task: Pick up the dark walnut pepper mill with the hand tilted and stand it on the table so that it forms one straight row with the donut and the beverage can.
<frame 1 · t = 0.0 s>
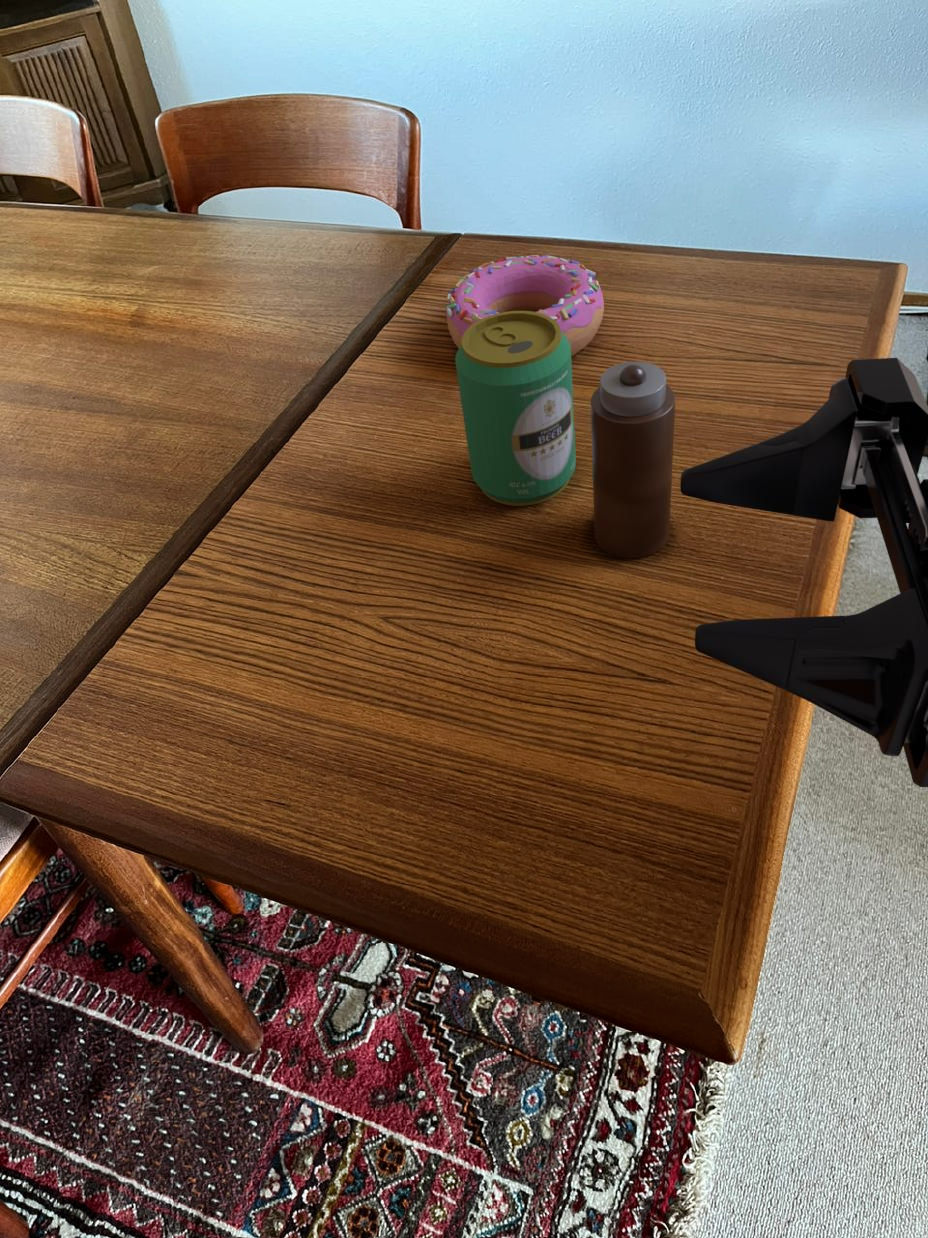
hand: (687, 553, 38), 18 cm above the table, tool horizontal, fingers open, 9 cm apart
donut: (526, 337, 87), on the table
pepper mill: (631, 533, 66), on the table
beverage can: (524, 478, 72), on the table
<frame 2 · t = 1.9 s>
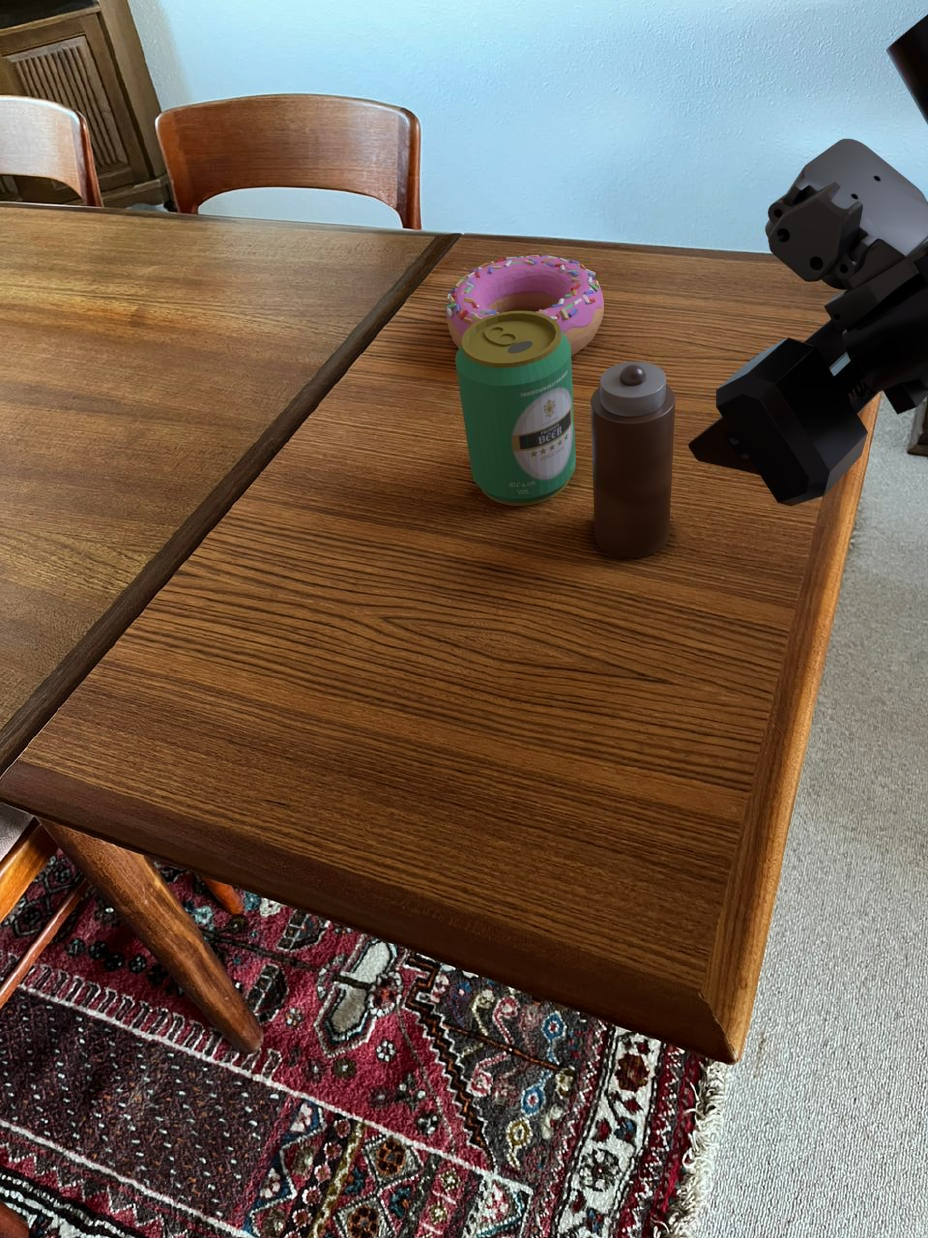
hand: (741, 408, 51), 14 cm above the table, tool tilted 50°, fingers open, 9 cm apart
nothing on the table moved.
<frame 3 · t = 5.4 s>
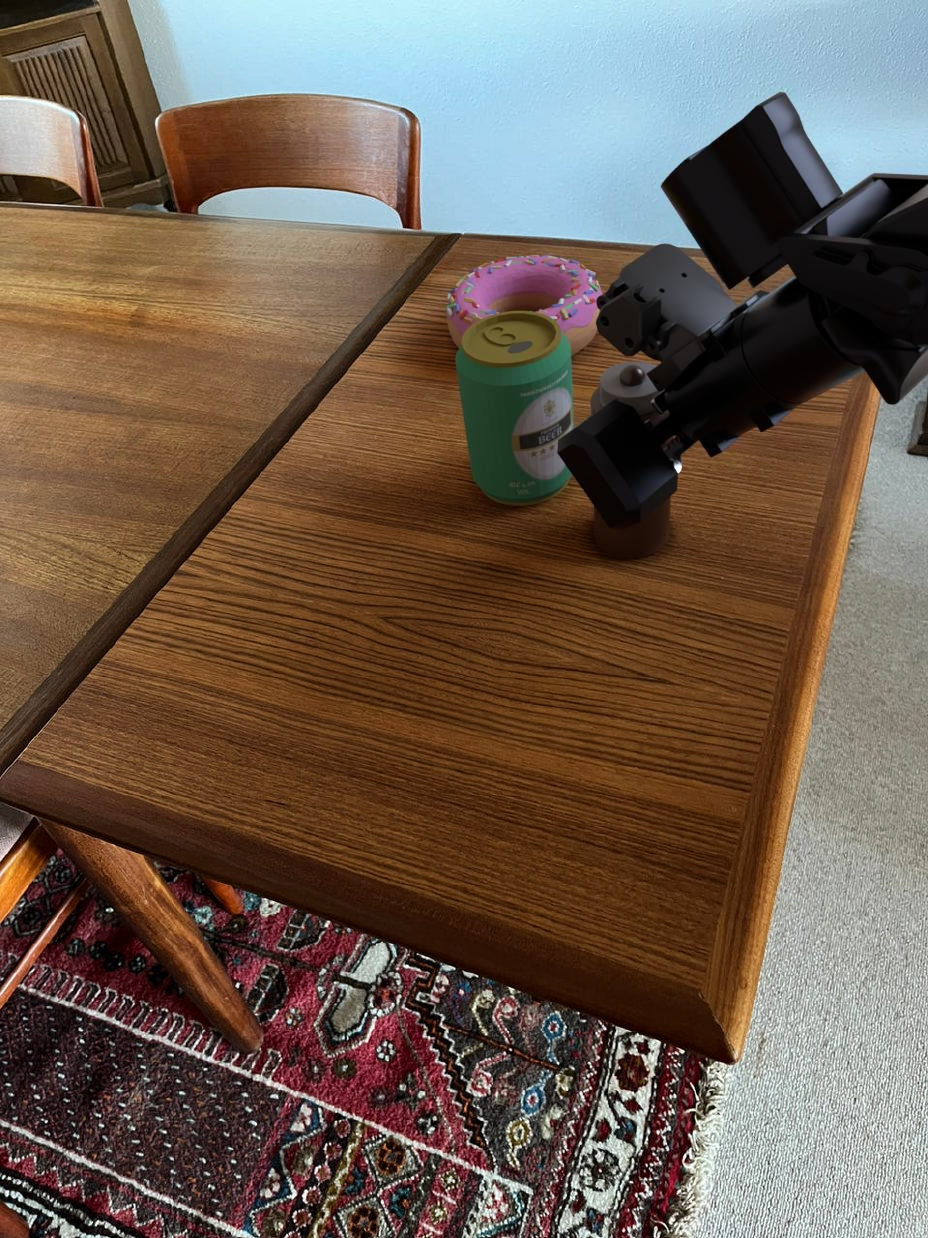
hand: (615, 451, 62), 7 cm above the table, tool tilted 45°, fingers closed on pepper mill, 5 cm apart
pepper mill: (631, 533, 66), on the table, touching gripper
everything else where it was.
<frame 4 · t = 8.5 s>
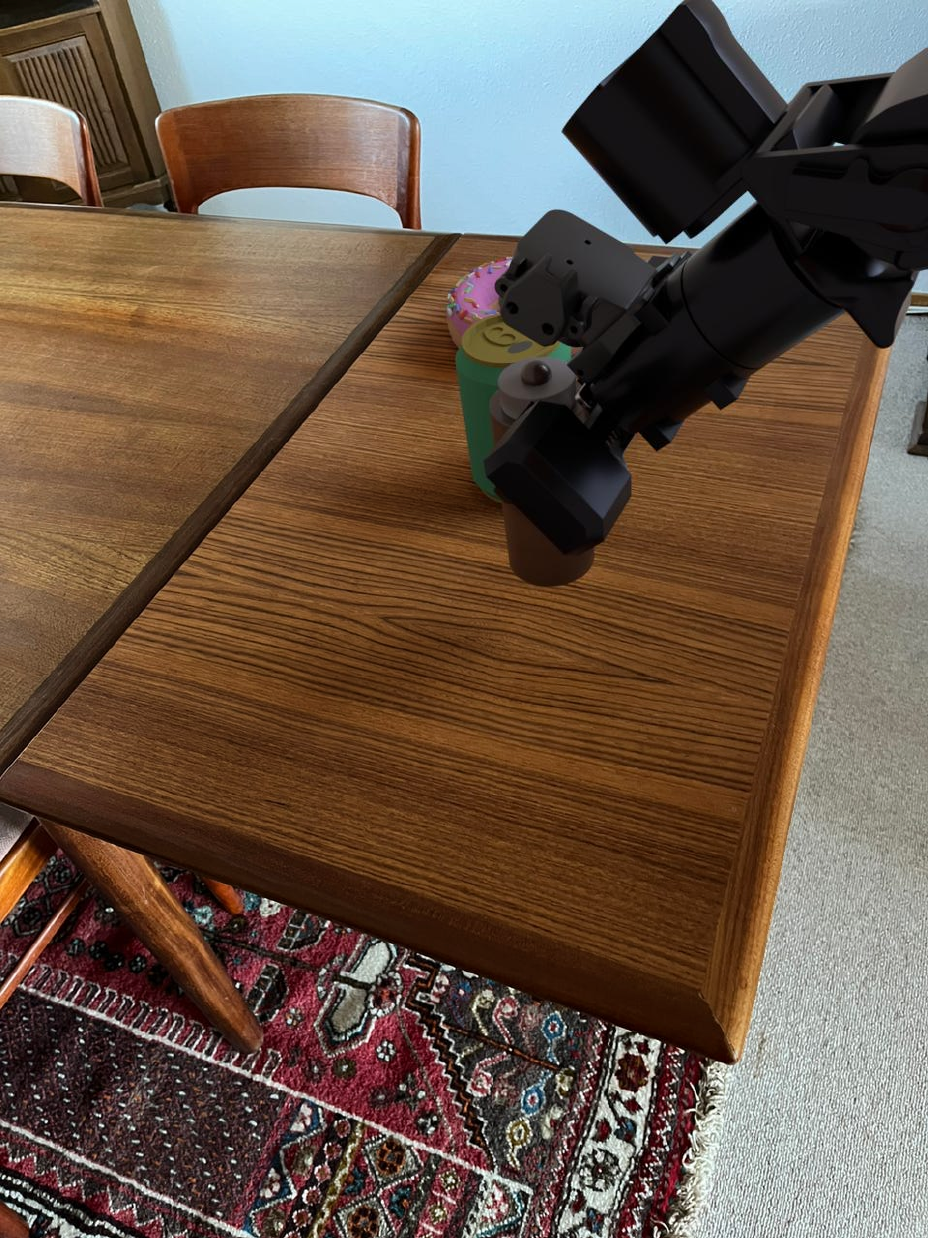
hand: (522, 466, 53), 12 cm above the table, tool tilted 45°, fingers closed on pepper mill, 5 cm apart
pepper mill: (551, 557, 57), point 6 cm above the table, touching gripper
everything else where it was.
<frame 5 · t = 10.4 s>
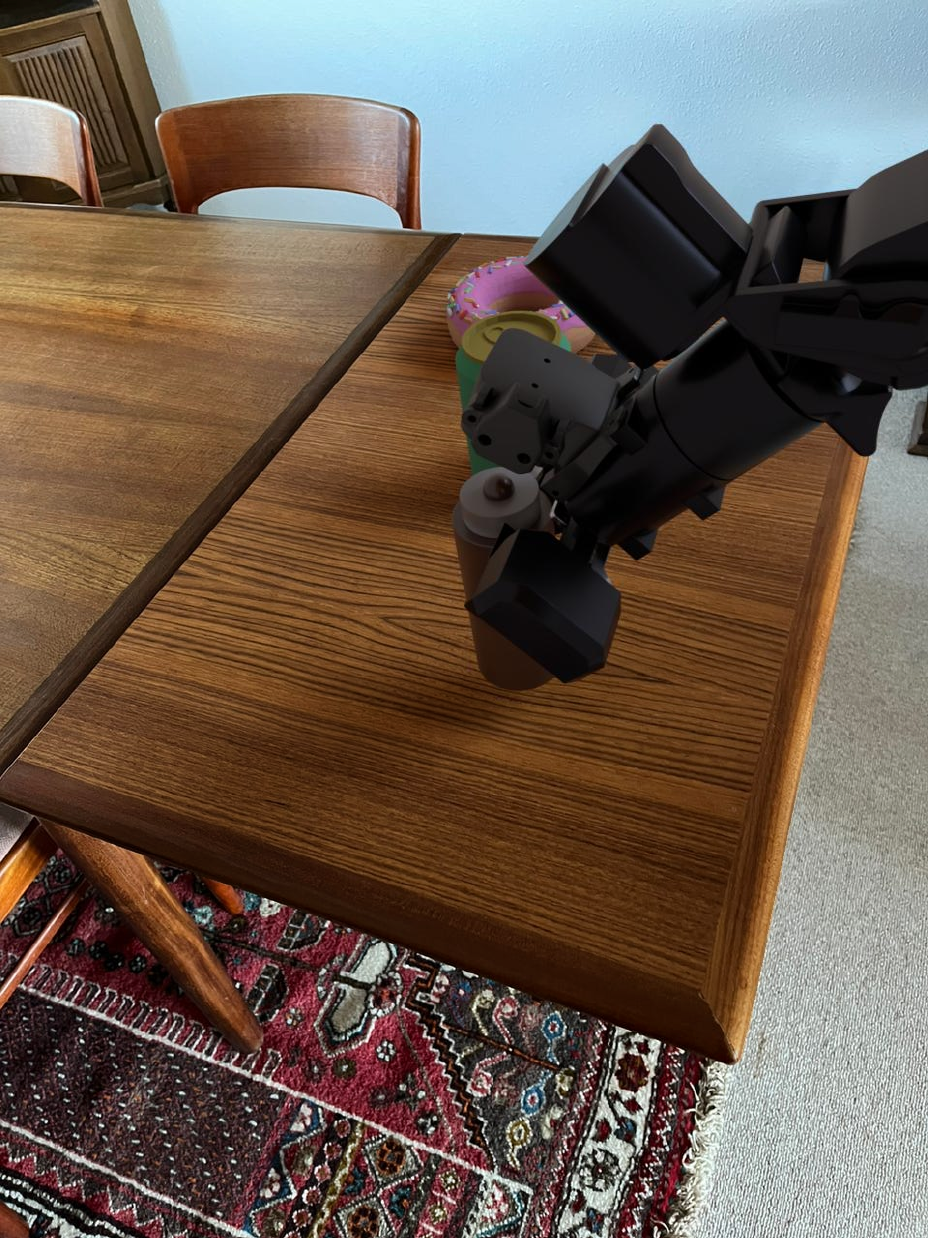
hand: (486, 574, 51), 9 cm above the table, tool tilted 45°, fingers closed on pepper mill, 5 cm apart
pepper mill: (520, 657, 56), point 3 cm above the table, touching gripper
everything else where it was.
when the fingers open (7 cm above the table, at t = 11.7 s): pepper mill stays where it is, on the table.
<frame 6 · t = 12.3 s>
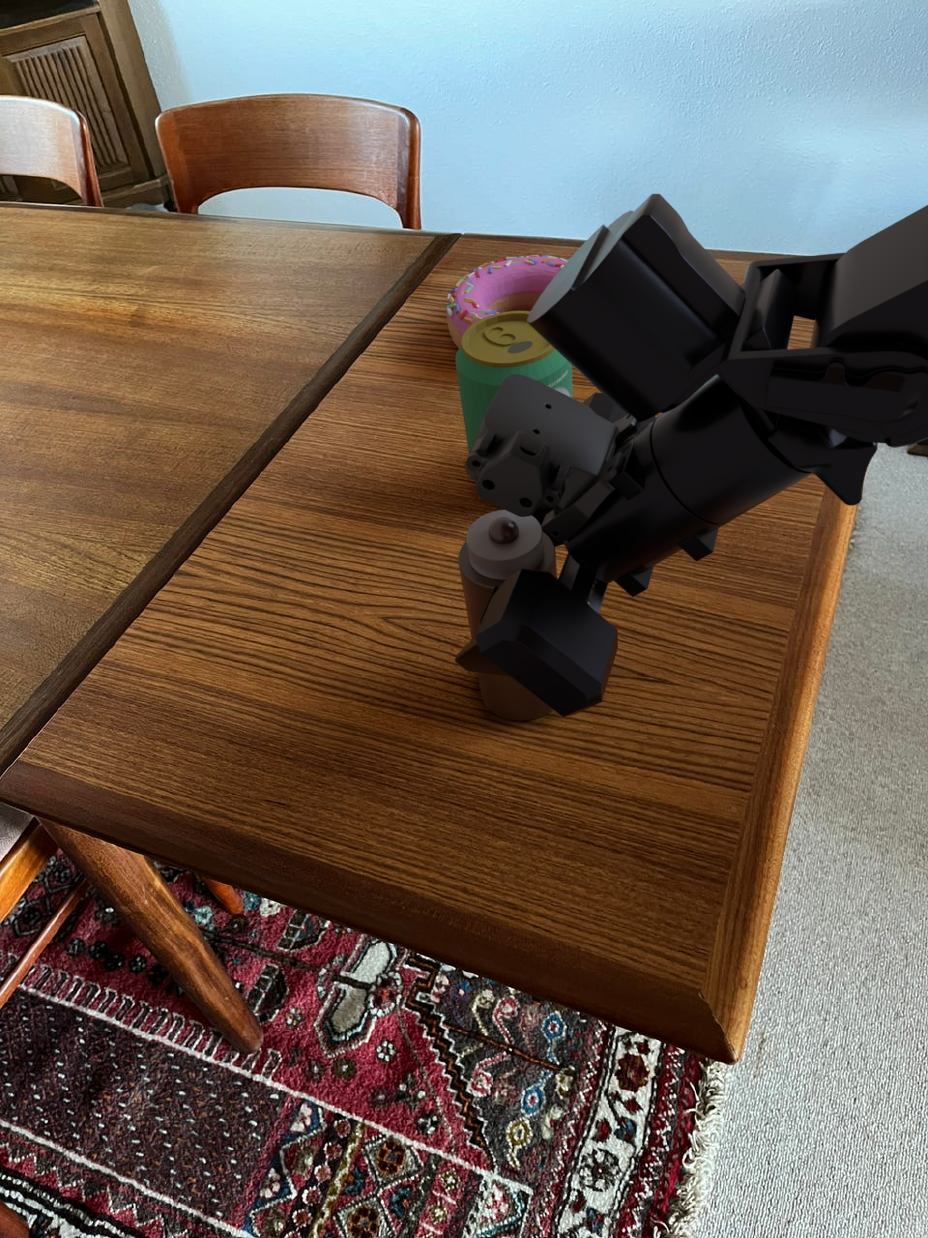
hand: (487, 603, 53), 7 cm above the table, tool tilted 45°, fingers open, 9 cm apart
pepper mill: (522, 687, 58), on the table
everything else where it was.
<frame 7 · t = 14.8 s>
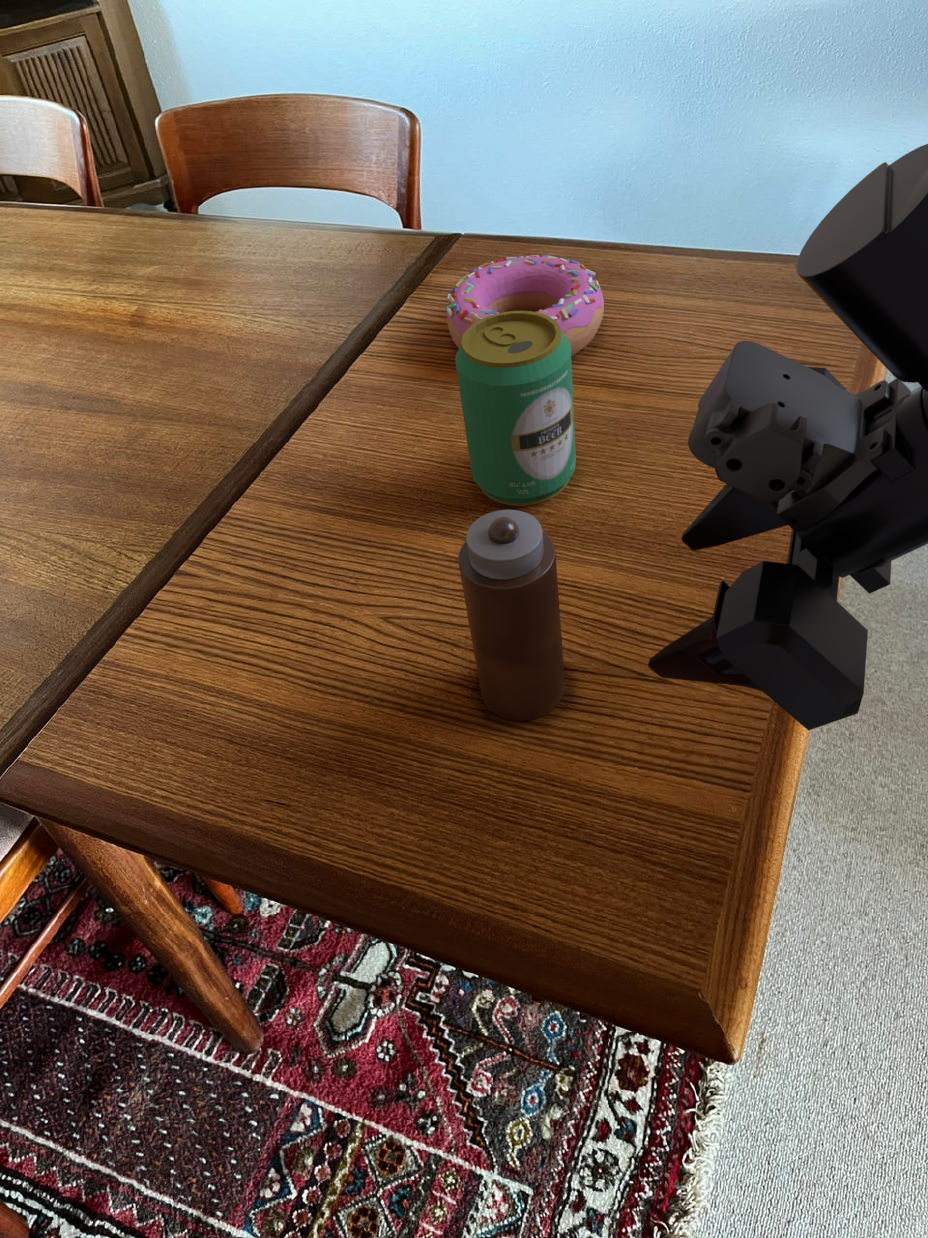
hand: (671, 602, 48), 10 cm above the table, tool tilted 45°, fingers open, 9 cm apart
nothing on the table moved.
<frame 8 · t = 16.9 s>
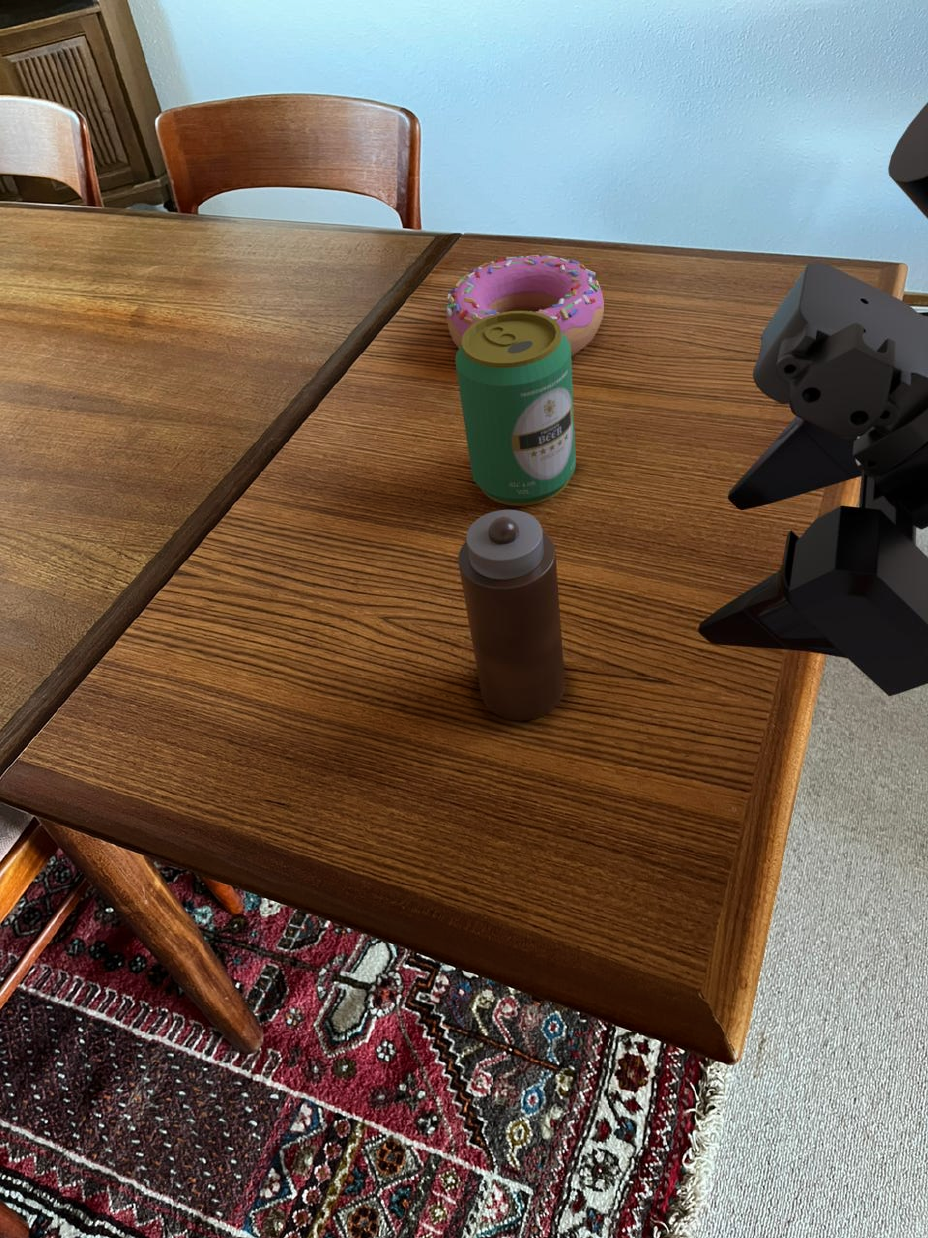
hand: (720, 564, 44), 14 cm above the table, tool tilted 45°, fingers open, 9 cm apart
nothing on the table moved.
at the end: pepper mill 0.1 cm from the target spot on the table beside the donut, on the table; pepper mill tilted 0°; the gripper is holding nothing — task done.
